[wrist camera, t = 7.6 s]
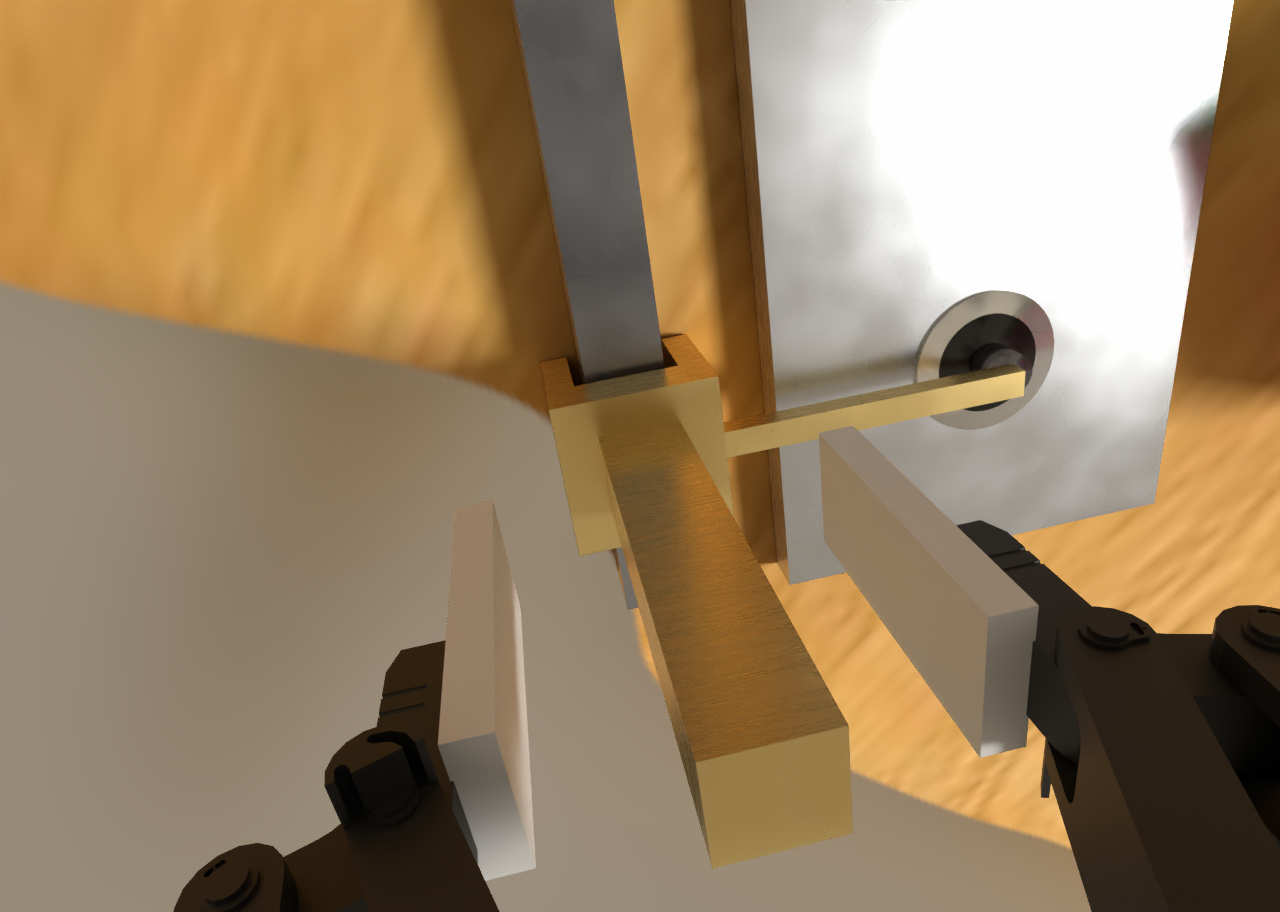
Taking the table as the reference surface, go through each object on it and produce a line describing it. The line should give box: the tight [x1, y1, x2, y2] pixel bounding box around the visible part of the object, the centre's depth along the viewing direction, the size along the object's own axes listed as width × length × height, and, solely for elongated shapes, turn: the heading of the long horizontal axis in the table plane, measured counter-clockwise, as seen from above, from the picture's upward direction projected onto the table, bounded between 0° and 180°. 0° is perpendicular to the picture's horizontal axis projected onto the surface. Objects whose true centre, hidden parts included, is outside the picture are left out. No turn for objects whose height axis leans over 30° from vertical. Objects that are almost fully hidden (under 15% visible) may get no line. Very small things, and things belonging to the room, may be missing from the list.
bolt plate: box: [730, 0, 1234, 585], centre depth 19 cm, size 28×12×1 cm, turn 8°
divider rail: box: [510, 0, 665, 610], centre depth 14 cm, size 26×12×12 cm, turn 8°
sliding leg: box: [540, 334, 1033, 868], centre depth 17 cm, size 4×13×14 cm, turn 98°
